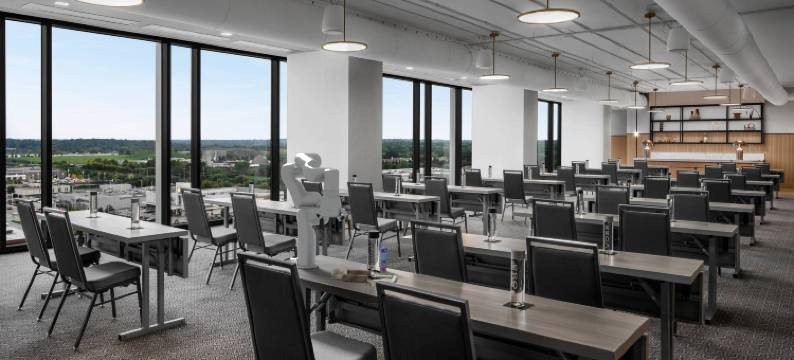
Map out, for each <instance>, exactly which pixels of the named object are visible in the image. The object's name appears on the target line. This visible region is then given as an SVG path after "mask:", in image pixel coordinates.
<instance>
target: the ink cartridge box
mask: <svg viewBox="0 0 794 360" xmlns="http://www.w3.org/2000/svg"><path fill="white" fill-rule="evenodd" d="M379 243H380V244H379V246H380V271H382V272H386V271H387V264H388V262H387V261H388V260H387V259H388V258H387V257H388V248H387V247H382V244H383V243H381V242H379ZM368 247H369V246H367V247H366V248H367V249H366V269H365V270H368Z"/></svg>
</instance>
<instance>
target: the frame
mask: <svg viewBox="0 0 794 360" xmlns="http://www.w3.org/2000/svg"><path fill="white" fill-rule="evenodd" d="M376 276H377V277H376ZM375 277H376V278H379V279H373V280H372V282H373V283H375V282H376V281H387V282H390V283H391V282H393V283H394V284H395V282H396V281H397V277H398V275H393V274H392V275H391V274H390V275H389V274H388V275H387V274H376V275H375ZM380 278H381V279H382V280H381V279H380ZM385 278H386V279H391V280H385ZM375 284H376V283H375Z"/></svg>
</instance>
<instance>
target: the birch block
mask: <svg viewBox="0 0 794 360" xmlns="http://www.w3.org/2000/svg"><path fill="white" fill-rule="evenodd" d="M330 274H331V276H330V278H331V279H332V280H333V279H335V280H341V279H342V280H343V274H344V268H333V269H331V271H330Z"/></svg>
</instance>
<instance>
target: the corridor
mask: <svg viewBox="0 0 794 360" xmlns="http://www.w3.org/2000/svg"><path fill="white" fill-rule="evenodd" d="M368 276H372V270H368V269H350V268H347V269H346V274H345V273H343V277H342V282H359V283H368V280H369V279H368V278H369V277H368Z"/></svg>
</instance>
